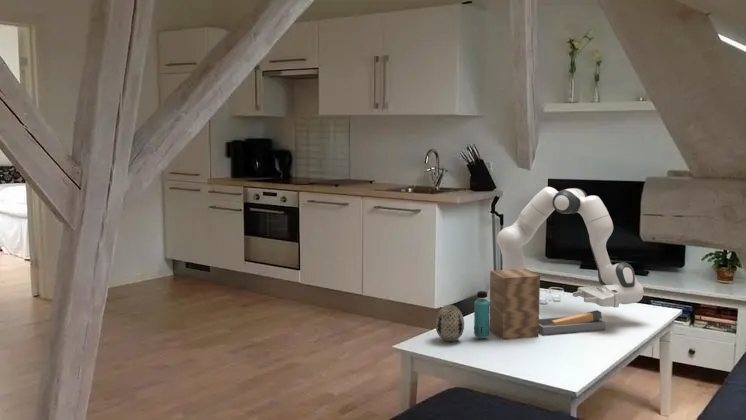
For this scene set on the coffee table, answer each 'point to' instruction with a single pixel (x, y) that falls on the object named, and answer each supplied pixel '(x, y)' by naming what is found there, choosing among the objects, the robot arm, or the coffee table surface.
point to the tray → (568, 327)
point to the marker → (578, 318)
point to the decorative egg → (449, 323)
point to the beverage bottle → (481, 315)
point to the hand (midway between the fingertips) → (578, 297)
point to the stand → (514, 303)
